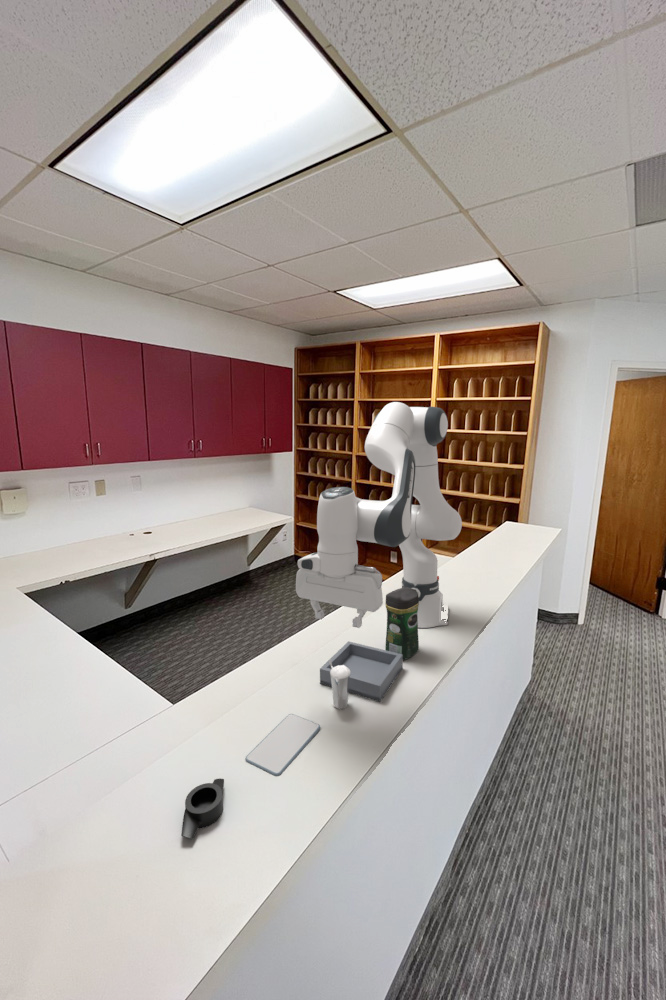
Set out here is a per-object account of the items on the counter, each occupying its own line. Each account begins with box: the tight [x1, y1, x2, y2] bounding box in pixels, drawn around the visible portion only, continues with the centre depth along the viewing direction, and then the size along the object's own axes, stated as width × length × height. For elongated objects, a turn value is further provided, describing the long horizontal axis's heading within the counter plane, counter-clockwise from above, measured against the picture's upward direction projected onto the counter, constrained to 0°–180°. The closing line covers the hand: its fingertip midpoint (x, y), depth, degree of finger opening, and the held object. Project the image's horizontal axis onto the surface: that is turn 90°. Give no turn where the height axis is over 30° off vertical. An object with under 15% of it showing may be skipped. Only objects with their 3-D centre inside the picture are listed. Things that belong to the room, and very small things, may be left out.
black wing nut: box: [181, 778, 225, 840], centre depth 67 cm, size 8×10×3 cm
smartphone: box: [244, 713, 321, 777], centre depth 83 cm, size 8×1×15 cm
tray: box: [319, 641, 404, 703], centre depth 106 cm, size 16×16×4 cm
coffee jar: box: [384, 587, 420, 661], centre depth 116 cm, size 10×8×19 cm
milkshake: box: [328, 659, 350, 710], centre depth 94 cm, size 4×5×10 cm
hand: (338, 622), depth 92 cm, fingers open, 8 cm apart
